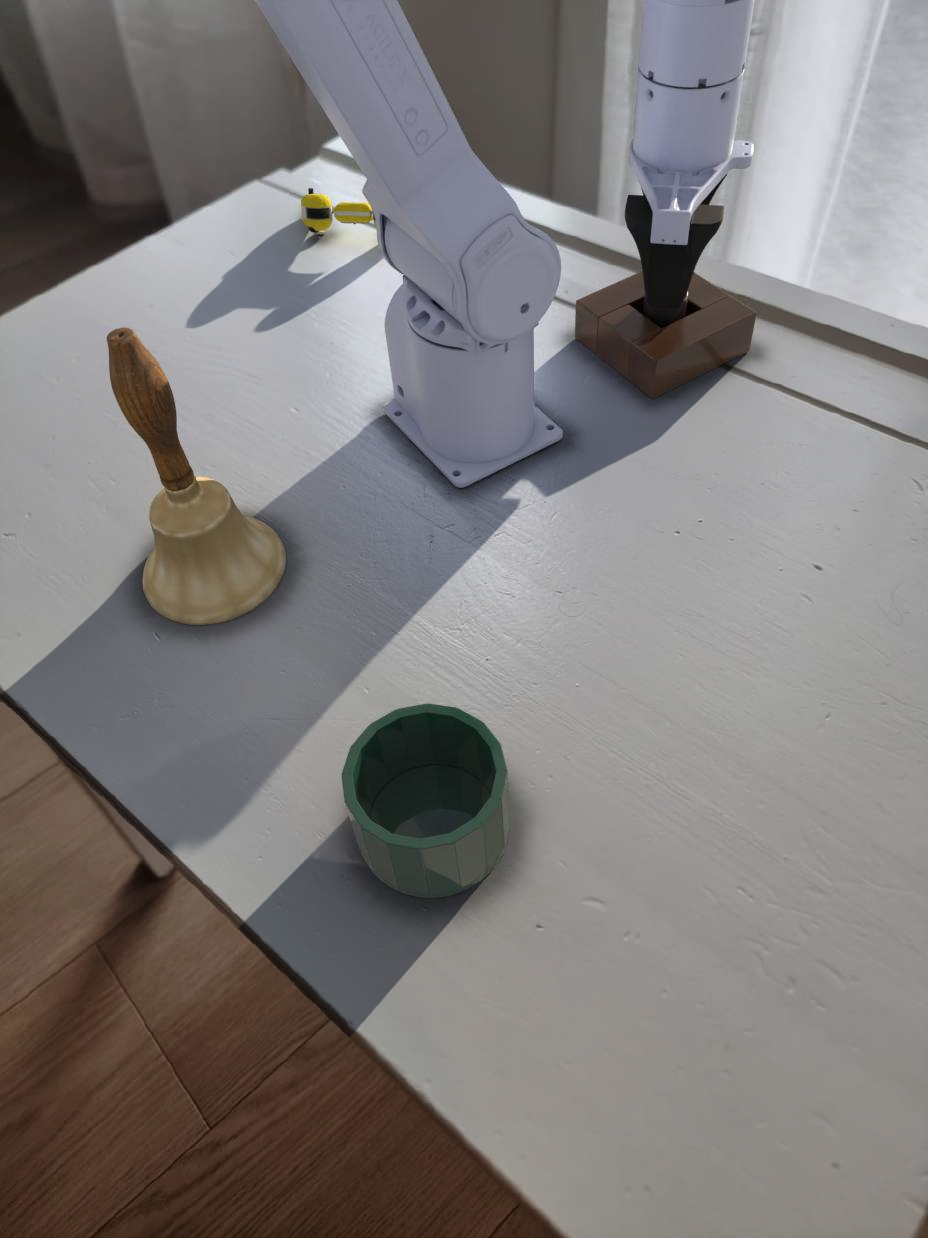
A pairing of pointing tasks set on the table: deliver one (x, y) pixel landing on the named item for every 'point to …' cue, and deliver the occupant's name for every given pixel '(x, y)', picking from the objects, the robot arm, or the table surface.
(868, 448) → the table surface
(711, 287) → the frame
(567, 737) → the table surface
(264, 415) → the table surface
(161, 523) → the hand bell
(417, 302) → the robot arm
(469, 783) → the cup
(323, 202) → the yellow segmented toy
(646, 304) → the peg-topped grey cylinder
